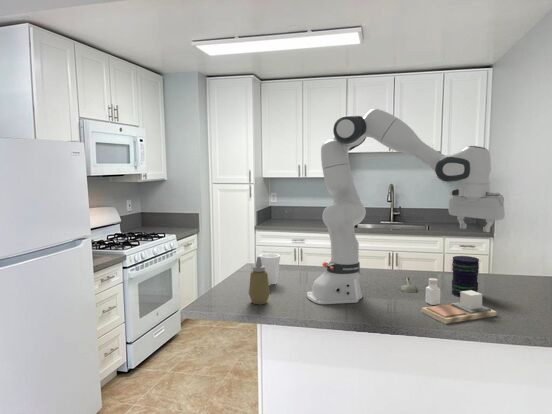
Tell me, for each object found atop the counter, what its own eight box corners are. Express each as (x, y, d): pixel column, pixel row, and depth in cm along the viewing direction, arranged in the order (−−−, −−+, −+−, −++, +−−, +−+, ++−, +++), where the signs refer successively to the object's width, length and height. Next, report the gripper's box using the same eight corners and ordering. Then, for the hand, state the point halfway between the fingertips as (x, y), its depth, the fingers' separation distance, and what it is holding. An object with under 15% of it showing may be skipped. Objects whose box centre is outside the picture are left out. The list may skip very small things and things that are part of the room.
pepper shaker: (431, 305, 151) (432, 281, 150) (424, 302, 154) (425, 278, 154) (440, 304, 152) (441, 280, 151) (433, 301, 156) (434, 277, 155)
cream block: (470, 309, 141) (471, 295, 140) (459, 305, 145) (460, 291, 145) (481, 307, 142) (482, 294, 142) (470, 303, 147) (471, 290, 146)
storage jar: (447, 294, 164) (448, 258, 163) (456, 289, 171) (457, 254, 170) (473, 299, 157) (474, 262, 156) (481, 293, 164) (482, 258, 163)
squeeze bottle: (254, 307, 151) (253, 260, 149) (245, 301, 158) (245, 256, 156) (273, 303, 154) (272, 257, 153) (264, 298, 162) (263, 254, 160)
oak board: (445, 323, 133) (445, 317, 133) (421, 311, 144) (421, 306, 144) (496, 315, 140) (496, 310, 140) (469, 304, 151) (469, 299, 151)
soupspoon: (401, 295, 168) (417, 296, 166) (401, 287, 167) (418, 289, 166) (399, 279, 189) (414, 280, 187) (400, 272, 188) (415, 273, 187)
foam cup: (284, 282, 184) (283, 254, 183) (273, 287, 176) (272, 258, 175) (266, 279, 189) (266, 252, 188) (255, 284, 181) (255, 256, 180)
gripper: (509, 192, 135) (507, 233, 136) (457, 190, 153) (456, 226, 154) (497, 193, 132) (495, 235, 133) (446, 190, 150) (445, 227, 151)
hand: (474, 230), depth 144 cm, fingers open, 8 cm apart
